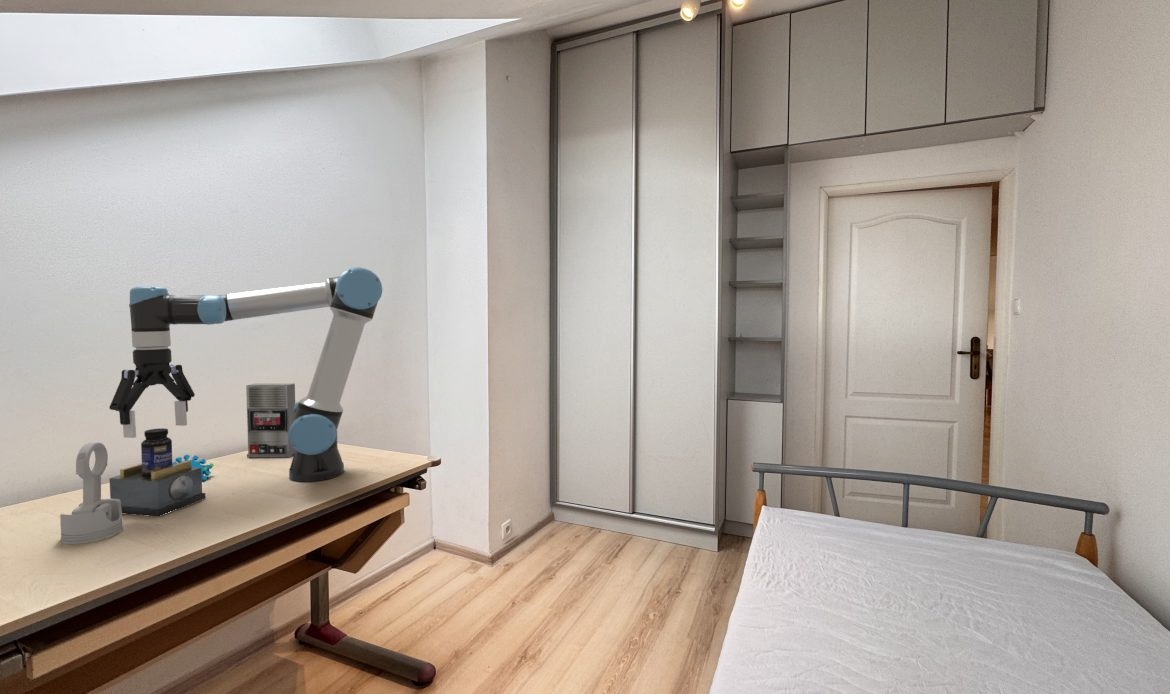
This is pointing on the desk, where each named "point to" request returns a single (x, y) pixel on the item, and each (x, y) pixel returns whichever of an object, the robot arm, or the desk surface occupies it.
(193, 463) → the blue spiky rounded piece
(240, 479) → the desk surface
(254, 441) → the grey cassette player
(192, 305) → the robot arm
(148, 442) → the pill bottle
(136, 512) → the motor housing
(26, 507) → the desk surface
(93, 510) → the engine component
